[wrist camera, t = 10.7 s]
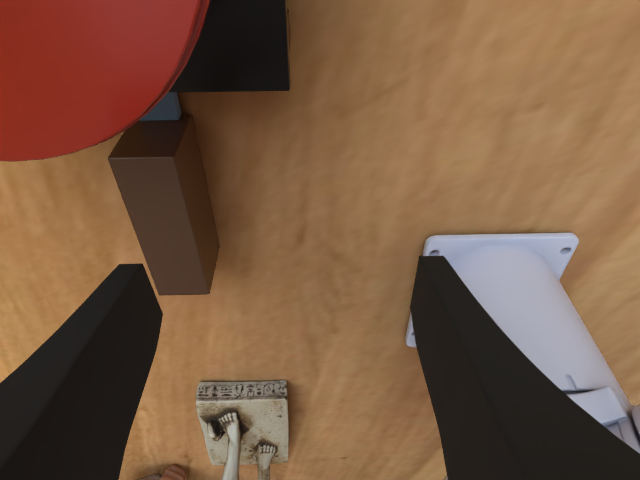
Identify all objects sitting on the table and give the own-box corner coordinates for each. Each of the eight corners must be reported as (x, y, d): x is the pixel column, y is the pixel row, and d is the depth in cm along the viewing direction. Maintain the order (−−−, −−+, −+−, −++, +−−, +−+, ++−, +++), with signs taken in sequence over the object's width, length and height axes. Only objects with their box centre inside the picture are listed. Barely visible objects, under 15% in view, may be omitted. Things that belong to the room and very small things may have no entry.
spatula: (246, 245, 23) (239, 294, 21) (148, 247, 23) (129, 296, 21) (178, -185, 12) (145, -193, 10) (-8, -184, 12) (-89, -192, 10)
